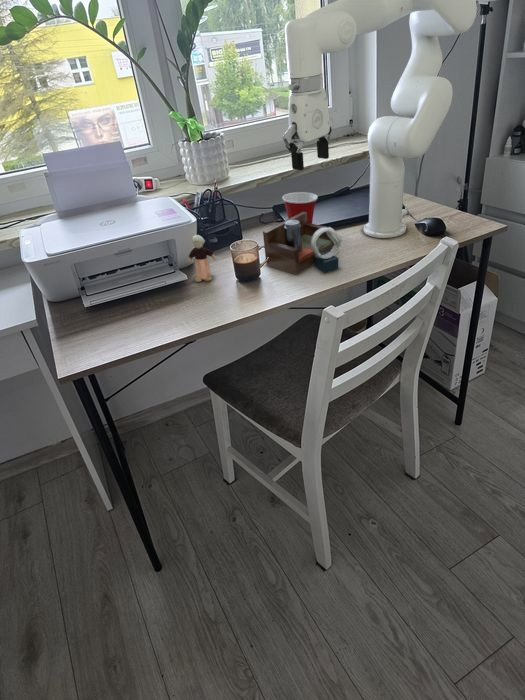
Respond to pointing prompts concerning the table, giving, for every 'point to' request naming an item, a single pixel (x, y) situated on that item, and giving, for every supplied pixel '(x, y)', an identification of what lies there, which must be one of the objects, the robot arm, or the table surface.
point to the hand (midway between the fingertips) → (310, 163)
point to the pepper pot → (293, 234)
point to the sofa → (289, 256)
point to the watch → (327, 259)
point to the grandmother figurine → (201, 259)
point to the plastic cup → (300, 204)
